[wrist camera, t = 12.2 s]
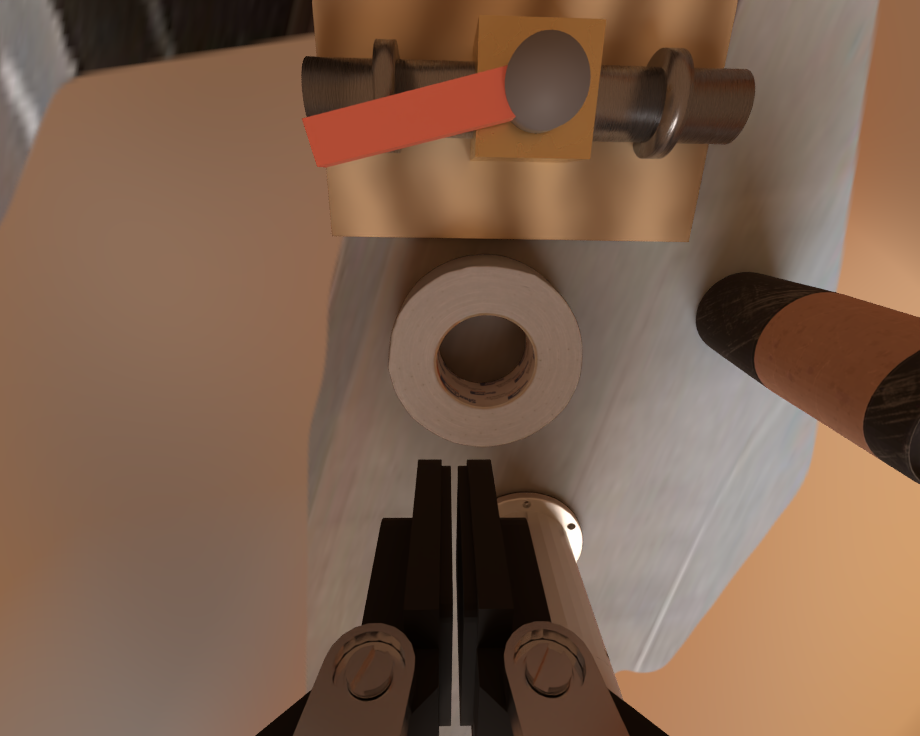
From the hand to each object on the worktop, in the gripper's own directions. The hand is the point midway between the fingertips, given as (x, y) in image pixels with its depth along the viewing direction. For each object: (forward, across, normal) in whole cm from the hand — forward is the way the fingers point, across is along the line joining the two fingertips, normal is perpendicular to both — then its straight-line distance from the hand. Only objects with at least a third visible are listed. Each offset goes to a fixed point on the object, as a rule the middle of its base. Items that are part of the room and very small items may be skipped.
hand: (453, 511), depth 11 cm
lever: (+21, 0, -11) cm, 24 cm away
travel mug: (+29, -25, +3) cm, 39 cm away
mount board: (+29, -5, -12) cm, 32 cm away
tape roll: (+30, -3, +6) cm, 30 cm away
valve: (+29, -5, -12) cm, 32 cm away
